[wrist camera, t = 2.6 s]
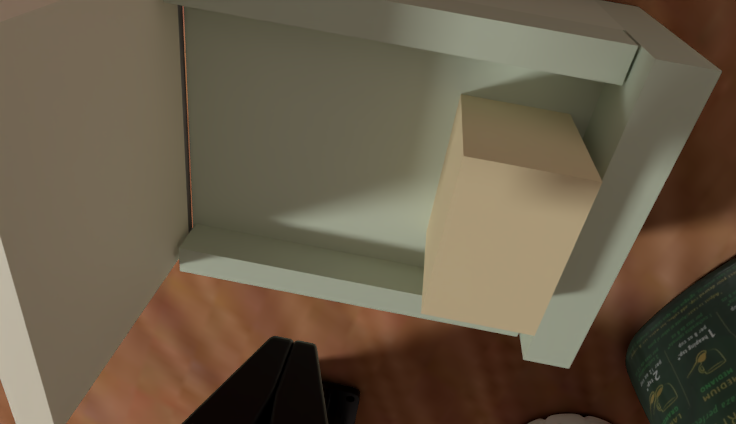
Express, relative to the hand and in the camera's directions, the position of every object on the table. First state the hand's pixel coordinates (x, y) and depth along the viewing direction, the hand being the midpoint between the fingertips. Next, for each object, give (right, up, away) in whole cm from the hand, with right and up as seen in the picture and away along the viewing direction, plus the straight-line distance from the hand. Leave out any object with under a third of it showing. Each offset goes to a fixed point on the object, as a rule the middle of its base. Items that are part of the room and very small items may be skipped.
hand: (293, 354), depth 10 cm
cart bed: (+2, +7, +10) cm, 13 cm away
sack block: (+5, +4, +7) cm, 10 cm away
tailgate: (-6, +4, +4) cm, 8 cm away
